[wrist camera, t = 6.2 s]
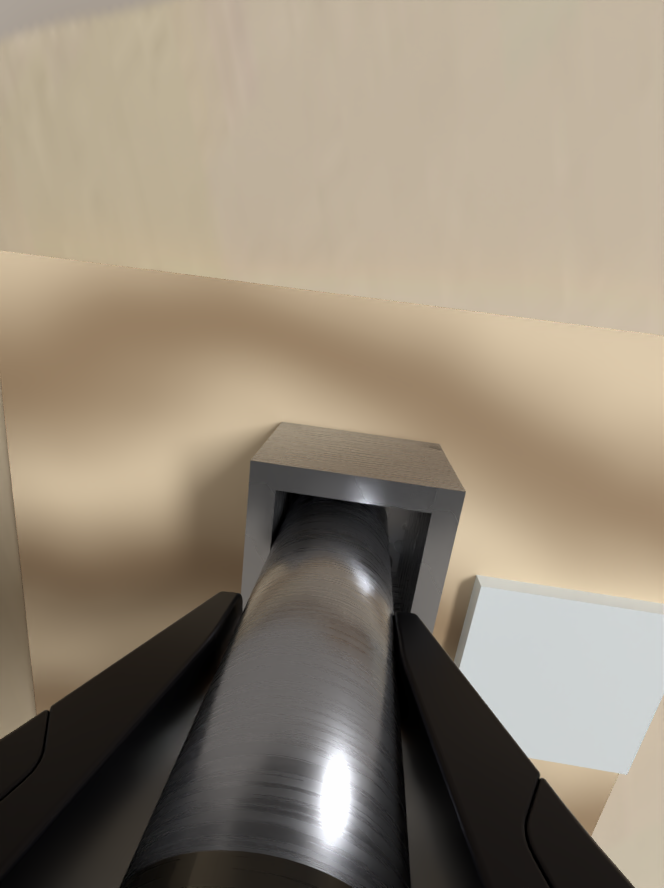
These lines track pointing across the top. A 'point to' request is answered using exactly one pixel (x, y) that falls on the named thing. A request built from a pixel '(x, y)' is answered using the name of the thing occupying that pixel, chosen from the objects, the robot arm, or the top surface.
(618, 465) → the board
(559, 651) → the coaster
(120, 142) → the top surface
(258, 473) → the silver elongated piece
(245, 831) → the metal cylinder
